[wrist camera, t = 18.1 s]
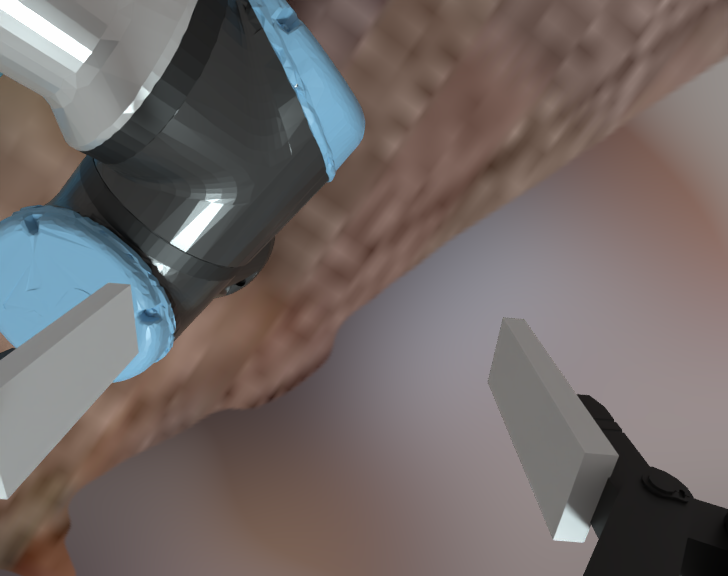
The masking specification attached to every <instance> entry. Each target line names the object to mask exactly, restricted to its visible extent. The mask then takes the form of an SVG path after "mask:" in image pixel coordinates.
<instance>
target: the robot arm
mask: <svg viewBox="0 0 728 576" xmlns="http://www.w3.org/2000/svg"><path fill="white" fill-rule="evenodd" d="M0 72H1V73H2V74H4V75H6V76H8V77H9V78H11V79H13V80H15V81H17V82H18V83H20V84H22V85H24V86H26V87H27V88H29V89H31V90H33V91H34V92H36V93H38V94H40V95H42V96H43V97H44V98H45V100H46V101H47V102H48V103H49V104H50V106H51V109H52V111H53V113H54V116H55V118H56V120H57V123H58V125H59V127H60V130H61V132H62V134H63V137H64V139H65V141H66V142H67V144H68V145H69V146H71V147H73V148H75V149H76V150H78V151H80V152H82V153H84V154H86V155H87V156H86V157H85V158H84V159H83V160H82V162H81V163H80V164H79V166H78V167H77V169H76V170H75V171H74V173H73V174H72V175H71V177H70V178H69V180H68V181H67V182H66V184H65V185H64V186H63V188H62V189H61V190H60V192H59V193H58V194H57V195H56V196H55V197H54V198H53V199H52V200H51V201H50V202H48V203H47V204H45V205H44V206H41V205H35V206H29V207H25V208H21V209H20V211H17V212H14V213H13V214H12V216H10V217H8V218H6V219H4V220H2V221H1V222H0V332H1V333H2V334H3V335H4V336H5V338H6V339H7V340H8V341H9V342H10V343H11V344H12V345H13V346H14V347H15V348H11V349H9V350H6V351H4V352H2V353H0V499H8V498H9V497H10V496H11V495H12V494H13V493H14V491H15V490H16V489H17V488H18V487H19V486H20V485H21V484H22V483H23V481H24V480H25V479H26V478H27V477H28V476H29V475H30V474H31V472H32V471H33V470H34V469H35V468H36V467H37V466H38V465H39V464H40V462H41V461H42V460H43V459H44V458H45V457H46V456H47V455H48V453H49V452H50V451H51V450H52V449H53V448H54V447H55V446H56V445H57V443H58V442H59V441H60V440H61V439H62V438H63V437H64V436H65V434H66V433H67V432H68V431H69V430H70V429H71V428H72V427H73V426H74V424H75V423H76V422H77V421H78V420H79V419H80V418H81V417H82V415H83V414H84V413H85V412H86V411H87V410H88V409H89V408H90V407H91V405H92V404H93V403H94V402H95V401H96V400H97V399H98V398H99V396H100V395H101V394H102V393H103V392H104V391H105V390H106V389H107V388H108V386H109V385H110V384H111V383H113V382H119V381H123V380H127V379H129V378H132V377H134V376H136V375H138V374H140V373H142V372H143V371H145V370H146V369H147V368H148V367H150V366H151V365H152V364H153V363H155V362H158V361H159V360H161V359H162V358H163V357H165V356H166V354H167V353H168V352H169V351H170V349H171V348H172V346H173V342H174V341H175V340H176V339H177V338H178V337H179V336H180V334H181V333H182V332H183V331H184V330H185V329H186V328H187V327H188V326H189V325H190V324H191V323H192V322H193V320H194V319H195V318H196V317H197V316H198V315H199V314H200V313H201V312H202V311H203V310H204V309H205V308H206V307H207V306H208V305H209V304H210V303H211V301H212V300H213V299H214V298H219V297H223V296H227V295H229V294H232V293H234V292H236V291H238V290H240V289H242V288H243V287H245V286H246V285H248V284H249V283H250V282H251V281H252V280H253V279H254V278H255V277H256V276H257V275H258V274H259V272H260V271H261V270H262V268H263V267H264V266H265V264H266V263H267V261H268V259H269V257H270V255H271V252H272V249H273V246H274V241H275V235H276V234H277V233H278V232H279V231H280V230H281V229H282V228H283V227H284V226H285V225H286V224H287V223H288V222H289V221H290V220H291V219H292V218H293V217H294V216H295V214H296V213H297V212H298V211H299V210H300V209H301V208H302V207H303V206H304V205H305V204H306V203H307V202H308V201H309V200H310V199H311V198H312V197H313V196H314V195H315V194H316V193H317V192H318V191H319V189H320V188H321V187H322V186H323V185H324V184H325V183H326V182H331V181H332V180H333V178H334V176H335V171H336V170H337V169H338V168H339V167H340V166H341V165H342V163H343V162H344V161H345V160H346V159H347V158H348V156H349V155H350V154H351V153H352V152H353V151H354V150H355V148H356V147H357V146H358V145H359V144H360V142H361V140H362V138H363V135H364V129H365V119H364V114H363V111H362V108H361V106H360V104H359V102H358V100H357V99H356V97H355V95H354V94H353V92H352V91H351V89H350V87H349V86H348V84H347V83H346V81H345V80H344V78H343V77H342V75H341V74H340V72H339V71H338V69H337V68H336V66H335V65H334V64H333V62H332V61H331V59H330V58H329V57H328V55H327V54H326V52H325V51H324V50H323V48H322V47H321V45H320V44H319V43H318V41H317V40H316V39H315V37H314V36H313V35H312V33H311V32H310V31H309V29H308V28H307V27H306V25H305V24H304V23H303V22H302V21H301V20H299V19H298V18H297V14H296V13H295V11H294V10H293V9H292V8H291V6H290V5H289V4H288V3H287V1H286V0H0ZM488 384H489V387H490V389H491V391H492V394H493V396H494V399H495V401H496V403H497V406H498V408H499V411H500V413H501V415H502V418H503V420H504V423H505V425H506V427H507V430H508V432H509V435H510V437H511V440H512V442H513V444H514V447H515V449H516V452H517V454H518V457H519V459H520V461H521V464H522V466H523V469H524V471H525V473H526V476H527V478H528V480H529V483H530V486H531V488H532V490H533V493H534V495H535V498H536V500H537V502H538V505H539V507H540V509H541V512H542V514H543V517H544V519H545V521H546V524H547V526H548V529H549V531H550V534H551V536H552V538H553V540H559V541H572V542H584V541H585V538H586V536H587V533H588V531H589V529H590V526H591V525H592V527H593V529H594V531H595V533H596V535H597V537H598V538H599V540H598V542H597V545H596V547H595V549H594V551H593V554H592V556H591V558H590V561H589V563H588V565H587V568H586V570H585V572H584V574H583V576H728V509H725V508H723V507H719V506H716V505H713V504H710V503H706V502H703V501H699V500H697V499H694V498H693V496H692V494H691V493H690V491H689V490H688V488H687V487H686V486H685V485H684V484H682V483H681V482H680V481H679V480H678V479H677V478H675V477H673V476H671V475H670V474H668V473H667V472H665V471H662V470H659V469H657V468H654V467H650V466H649V465H648V464H647V462H646V461H645V460H644V458H643V457H642V456H641V454H640V453H639V452H638V450H637V449H636V448H635V447H634V445H633V444H632V443H631V441H630V440H629V439H628V438H627V436H626V435H625V433H622V429H621V428H620V427H619V426H618V424H617V423H616V422H614V419H613V417H611V415H610V413H609V412H608V411H607V409H606V408H605V407H604V406H603V405H601V404H600V403H599V402H597V401H596V400H595V399H593V398H592V397H591V396H589V395H579V394H576V393H575V392H574V390H573V389H572V387H571V386H570V384H569V383H568V382H567V380H566V379H565V377H564V376H563V374H562V373H561V371H560V370H559V369H558V367H557V366H556V364H555V363H554V361H553V360H552V358H551V357H550V356H549V354H548V353H547V351H546V350H545V348H544V347H543V346H542V344H541V343H540V341H539V340H538V339H537V337H536V335H534V333H533V331H532V330H531V328H530V327H529V325H528V324H527V323H526V321H525V320H524V319H515V318H503V320H502V324H501V328H500V332H499V336H498V341H497V345H496V349H495V353H494V358H493V362H492V366H491V370H490V374H489V378H488Z"/></svg>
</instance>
